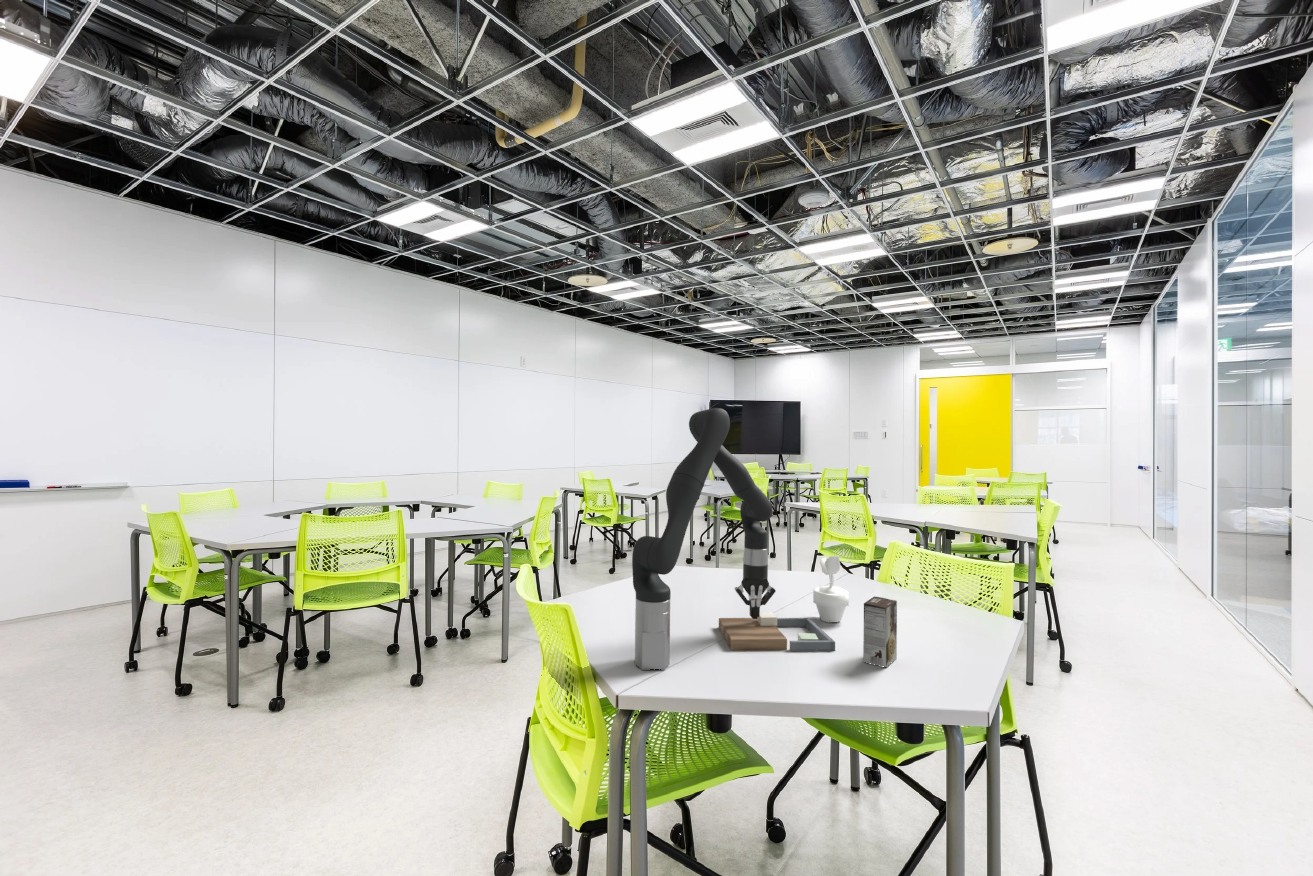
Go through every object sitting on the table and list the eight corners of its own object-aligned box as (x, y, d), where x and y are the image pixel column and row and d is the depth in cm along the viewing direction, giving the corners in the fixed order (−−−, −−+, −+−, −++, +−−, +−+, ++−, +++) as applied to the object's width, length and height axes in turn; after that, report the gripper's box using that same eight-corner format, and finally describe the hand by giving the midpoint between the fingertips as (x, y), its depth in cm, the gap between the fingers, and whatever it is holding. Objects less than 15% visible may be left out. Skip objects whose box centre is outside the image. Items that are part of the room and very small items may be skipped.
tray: (835, 650, 162) (835, 641, 162) (790, 651, 161) (791, 642, 161) (808, 625, 184) (808, 617, 184) (769, 625, 183) (769, 618, 183)
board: (786, 649, 162) (787, 639, 162) (731, 650, 161) (731, 639, 161) (768, 627, 182) (768, 617, 182) (718, 627, 181) (718, 618, 181)
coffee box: (873, 653, 160) (874, 595, 160) (897, 659, 156) (897, 600, 156) (862, 662, 153) (862, 602, 153) (886, 668, 149) (887, 607, 149)
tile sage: (801, 638, 165) (800, 647, 165) (818, 639, 164) (818, 648, 164) (798, 633, 170) (798, 641, 170) (815, 633, 169) (815, 642, 169)
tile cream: (777, 625, 174) (777, 617, 174) (761, 625, 173) (761, 617, 173) (773, 620, 179) (773, 612, 179) (757, 620, 178) (757, 612, 178)
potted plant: (853, 626, 184) (854, 548, 184) (817, 625, 184) (818, 548, 184) (841, 614, 197) (842, 542, 197) (808, 613, 197) (808, 541, 197)
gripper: (737, 564, 172) (736, 622, 172) (779, 564, 173) (778, 622, 173) (731, 559, 180) (730, 614, 179) (772, 559, 181) (772, 614, 180)
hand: (754, 618), depth 176 cm, fingers closed
